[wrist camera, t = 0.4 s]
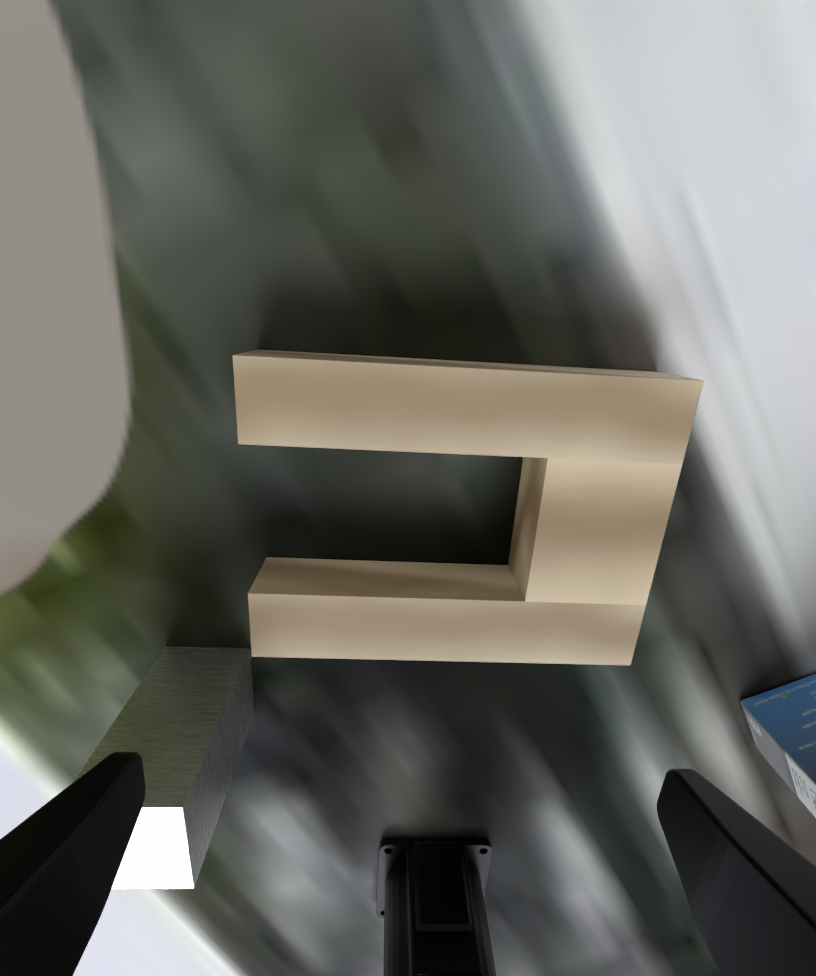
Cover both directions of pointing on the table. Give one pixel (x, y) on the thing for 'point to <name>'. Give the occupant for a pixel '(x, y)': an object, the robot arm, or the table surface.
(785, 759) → the label tape cartridge
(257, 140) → the table surface
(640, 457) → the notched board
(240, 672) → the grey peg
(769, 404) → the table surface
